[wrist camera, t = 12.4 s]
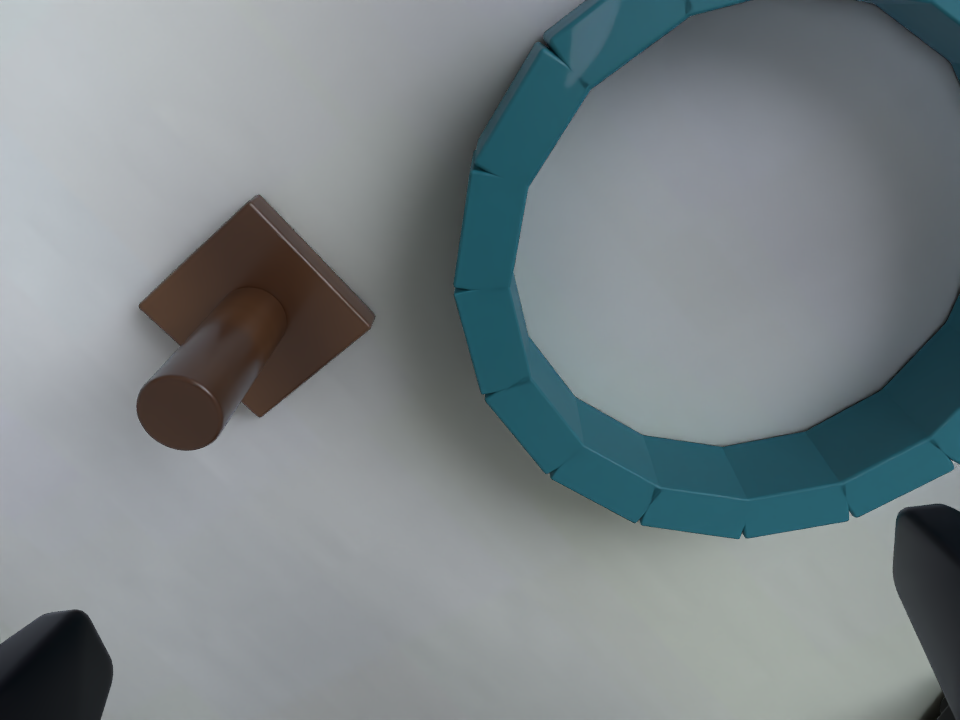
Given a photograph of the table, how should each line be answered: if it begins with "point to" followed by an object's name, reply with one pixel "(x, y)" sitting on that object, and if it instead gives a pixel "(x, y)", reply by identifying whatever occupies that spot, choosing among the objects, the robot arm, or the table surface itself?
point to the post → (243, 327)
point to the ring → (610, 444)
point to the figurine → (945, 711)
